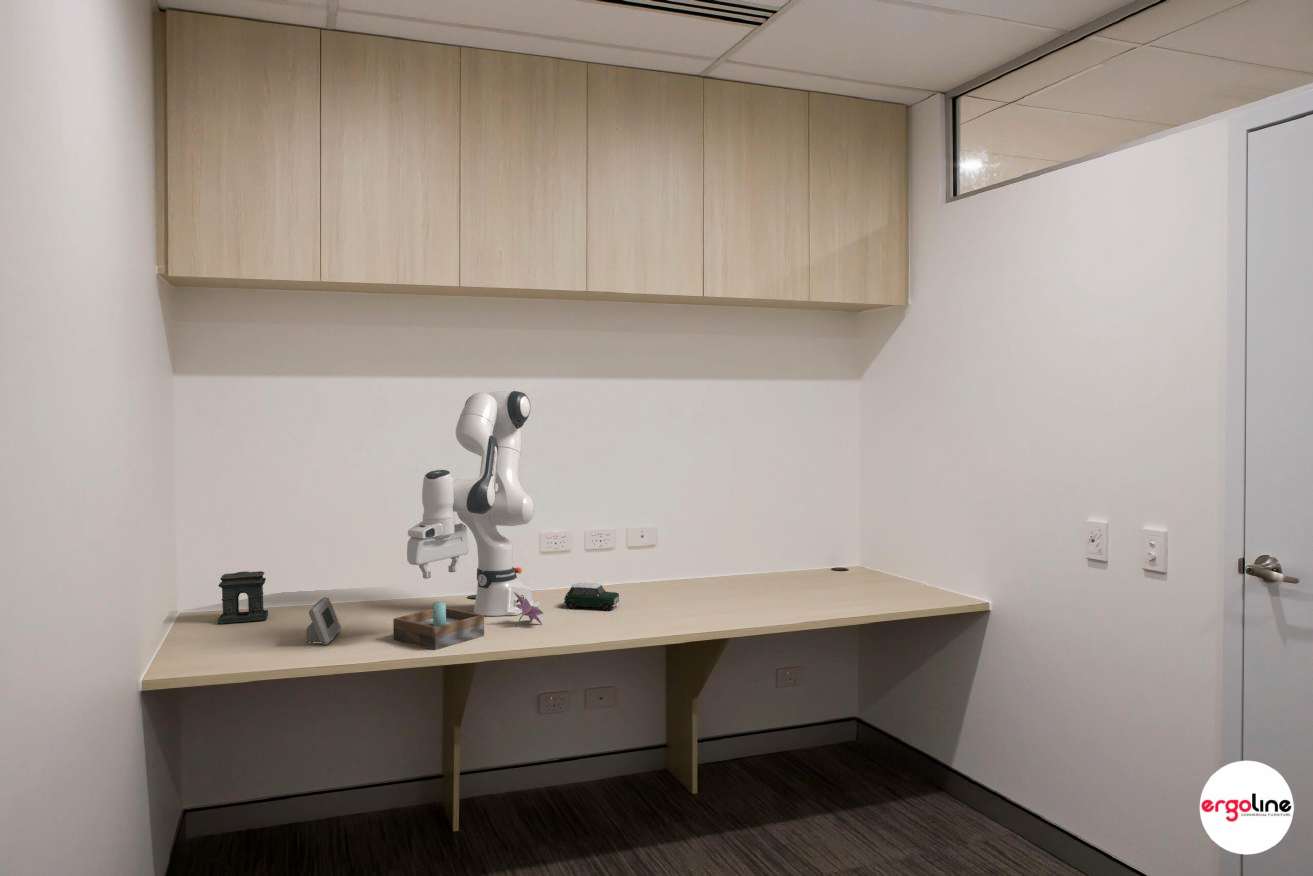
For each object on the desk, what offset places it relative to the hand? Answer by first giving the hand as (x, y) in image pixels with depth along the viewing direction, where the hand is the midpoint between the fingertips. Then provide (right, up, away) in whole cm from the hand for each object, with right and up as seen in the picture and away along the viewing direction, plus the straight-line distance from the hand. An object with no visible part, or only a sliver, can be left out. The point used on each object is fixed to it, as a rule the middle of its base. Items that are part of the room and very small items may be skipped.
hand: (439, 575), depth 250 cm
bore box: (0, -18, 0) cm, 18 cm away
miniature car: (+41, -17, +39) cm, 59 cm away
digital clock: (-32, -18, -1) cm, 37 cm away
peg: (0, -18, 0) cm, 18 cm away
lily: (+23, -18, +15) cm, 33 cm away
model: (-66, -17, +20) cm, 71 cm away
